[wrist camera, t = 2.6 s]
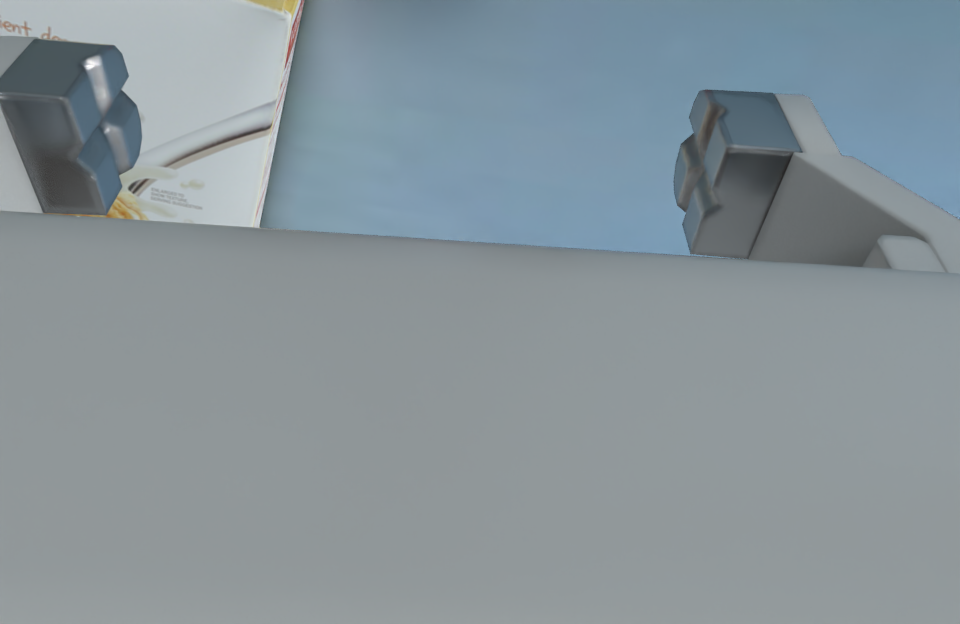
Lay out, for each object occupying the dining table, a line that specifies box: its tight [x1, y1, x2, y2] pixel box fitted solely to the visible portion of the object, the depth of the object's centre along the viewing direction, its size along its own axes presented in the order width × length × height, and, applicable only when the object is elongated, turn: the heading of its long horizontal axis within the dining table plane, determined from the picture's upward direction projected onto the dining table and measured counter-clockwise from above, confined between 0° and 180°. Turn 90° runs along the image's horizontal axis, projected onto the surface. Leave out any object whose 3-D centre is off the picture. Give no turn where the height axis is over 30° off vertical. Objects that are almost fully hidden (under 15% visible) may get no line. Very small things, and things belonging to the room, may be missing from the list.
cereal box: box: [0, 0, 304, 228], centre depth 32 cm, size 20×6×28 cm
